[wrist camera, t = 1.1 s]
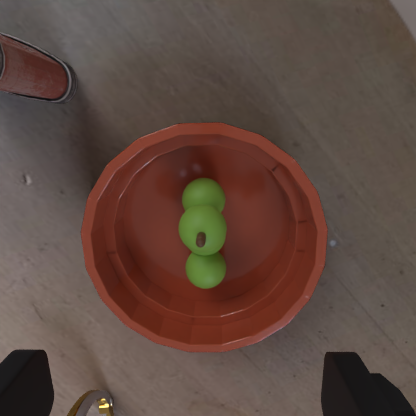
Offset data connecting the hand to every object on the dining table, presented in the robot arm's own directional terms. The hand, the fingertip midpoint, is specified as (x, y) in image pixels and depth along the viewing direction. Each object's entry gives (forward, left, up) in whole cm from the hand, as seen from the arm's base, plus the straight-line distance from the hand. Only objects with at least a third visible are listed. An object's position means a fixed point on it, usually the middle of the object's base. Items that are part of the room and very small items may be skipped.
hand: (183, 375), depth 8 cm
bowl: (0, 0, -14) cm, 14 cm away
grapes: (0, 0, -13) cm, 13 cm away
